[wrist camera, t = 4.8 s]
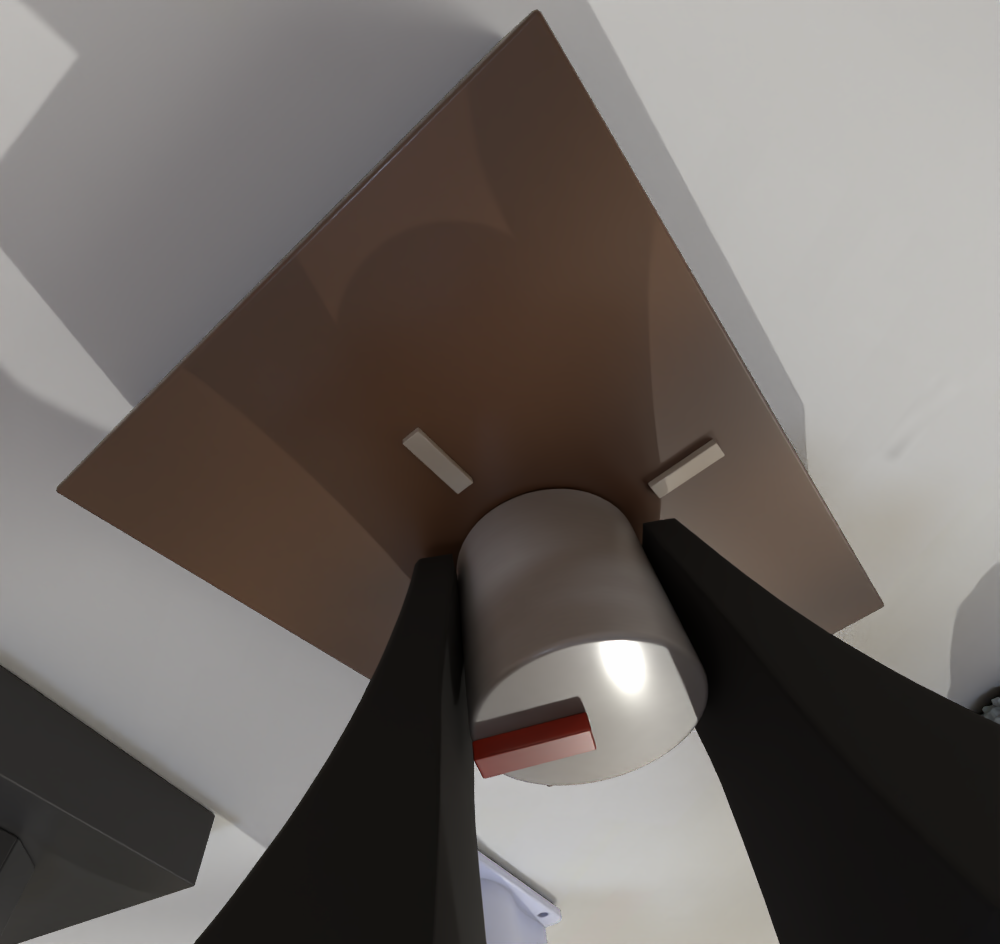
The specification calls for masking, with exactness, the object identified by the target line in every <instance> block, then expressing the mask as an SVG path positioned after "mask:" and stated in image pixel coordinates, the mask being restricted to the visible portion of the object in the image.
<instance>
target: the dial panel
mask: <svg viewBox="0 0 1000 944" xmlns="http://www.w3.org/2000/svg"><path fill="white" fill-rule="evenodd" d="M545 489H573V490H579V491H584V492H588V493H591V494H593V495H596V496H599V497H601V498H603V499H604V500H606V501H608V502H610V503H611V504H613V505H614V506H615V507H617V508H618V509H619V510H620V511H621V512H622V513H623V514H624V515H625V516H626V518H627V519H628V521H629V522H630V524H631V526H632V528H633V530H634V532H635V534H636V536H637V538H638V540H639V542H640V543H641V545H642V533H643V523H646V522H652V521H658V520H664V519H671V518H675V519H676V520H678V521H679V522H680V523H682V524H683V525H684V526H685V527H687V528H688V529H689V530H690V531H692V532H693V533H694V534H695V535H697V536H698V537H699V538H700V539H702V540H703V541H704V542H705V543H706V544H708V545H709V546H710V547H711V548H713V549H714V550H715V551H716V552H718V553H719V554H720V555H721V556H723V557H724V558H725V559H726V560H728V561H729V562H730V563H732V564H733V565H734V566H735V567H737V568H738V569H739V570H741V571H742V572H743V573H744V574H746V575H747V576H748V577H750V578H751V579H753V580H754V581H755V582H757V583H758V584H759V585H761V586H762V587H763V588H765V589H766V590H767V591H769V592H770V593H771V594H773V595H774V596H775V597H777V598H778V599H780V600H781V601H782V602H784V603H785V604H787V605H788V606H790V607H791V608H793V609H794V610H796V611H797V612H799V613H800V614H802V615H803V616H805V617H806V618H807V619H809V620H810V621H812V622H813V623H815V624H816V625H818V626H819V627H821V628H822V629H824V630H826V631H827V632H829V633H830V634H834V633H836V632H838V631H840V630H841V629H843V628H845V627H847V626H849V625H851V624H853V623H854V622H856V621H858V620H860V619H862V618H864V617H865V616H867V615H869V614H871V613H873V612H875V611H877V610H878V609H880V608H882V607H883V606H884V603H883V602H882V600H881V598H880V596H879V595H878V593H877V591H876V589H875V588H874V586H873V584H872V583H871V581H870V579H869V577H868V576H867V574H866V572H865V570H864V569H863V567H862V565H861V564H860V562H859V560H858V558H857V557H856V555H855V553H854V551H853V550H852V548H851V546H850V545H849V543H848V541H847V539H846V538H845V536H844V534H843V533H842V531H841V529H840V527H839V526H838V524H837V522H836V520H835V519H834V517H833V515H832V514H831V512H830V510H829V508H828V507H827V505H826V503H825V501H824V500H823V498H822V496H821V495H820V493H819V491H818V489H817V488H816V486H815V484H814V482H813V481H812V479H811V477H810V476H809V474H808V472H807V470H806V469H805V467H804V465H803V463H802V462H801V460H800V458H799V457H798V455H797V453H796V451H795V450H794V448H793V446H792V444H791V443H790V441H789V439H788V438H787V436H786V434H785V432H784V431H783V429H782V427H781V425H780V424H779V422H778V420H777V419H776V417H775V415H774V413H773V412H772V410H771V408H770V407H769V405H768V403H767V401H766V400H765V398H764V396H763V394H762V393H761V391H760V389H759V388H758V386H757V384H756V382H755V381H754V379H753V377H752V375H751V374H750V372H749V370H748V369H747V367H746V365H745V363H744V362H743V360H742V358H741V356H740V355H739V353H738V351H737V350H736V348H735V346H734V344H733V343H732V341H731V339H730V337H729V336H728V334H727V332H726V331H725V329H724V327H723V325H722V324H721V322H720V320H719V318H718V317H717V315H716V313H715V312H714V310H713V308H712V306H711V305H710V303H709V301H708V300H707V298H706V296H705V294H704V293H703V291H702V289H701V287H700V286H699V284H698V282H697V281H696V279H695V277H694V275H693V274H692V272H691V270H690V268H689V267H688V265H687V263H686V262H685V260H684V258H683V256H682V255H681V253H680V251H679V249H678V248H677V246H676V244H675V243H674V241H673V239H672V237H671V236H670V234H669V232H668V230H667V229H666V227H665V225H664V224H663V222H662V220H661V218H660V217H659V215H658V213H657V211H656V210H655V208H654V206H653V205H652V203H651V201H650V199H649V198H648V196H647V194H646V193H645V191H644V189H643V187H642V186H641V184H640V182H639V180H638V179H637V177H636V175H635V174H634V172H633V170H632V168H631V167H630V165H629V163H628V161H627V160H626V158H625V156H624V155H623V153H622V151H621V149H620V148H619V146H618V144H617V142H616V141H615V139H614V137H613V136H612V134H611V132H610V130H609V129H608V127H607V125H606V123H605V122H604V120H603V118H602V117H601V115H600V113H599V111H598V110H597V108H596V106H595V104H594V103H593V101H592V99H591V98H590V96H589V94H588V92H587V91H586V89H585V87H584V86H583V84H582V82H581V80H580V79H579V77H578V75H577V73H576V72H575V70H574V68H573V67H572V65H571V63H570V61H569V60H568V58H567V56H566V54H565V53H564V51H563V49H562V48H561V46H560V44H559V42H558V41H557V39H556V37H555V35H554V34H553V32H552V30H551V29H550V27H549V25H548V23H547V22H546V20H545V18H544V16H543V15H542V13H541V12H540V11H539V10H534V11H532V12H531V13H530V14H529V15H528V16H527V17H526V18H525V19H523V20H522V21H521V22H520V23H519V24H518V25H517V26H516V27H515V28H514V29H512V30H511V31H510V32H509V33H508V34H507V35H506V36H505V37H504V38H503V39H502V40H501V41H500V42H499V43H498V44H497V45H496V46H495V47H494V48H493V49H492V50H491V51H490V52H489V53H488V54H487V55H486V56H485V57H484V58H483V59H482V60H481V61H480V62H479V63H478V64H477V65H476V66H475V67H474V68H473V69H472V70H471V71H470V72H469V73H468V74H467V75H466V76H465V77H464V78H463V79H462V80H461V81H460V82H459V83H458V84H457V85H456V86H455V87H454V88H453V89H452V90H451V91H450V92H449V93H448V94H447V95H446V96H445V97H444V98H443V99H442V100H441V101H440V102H439V103H438V104H437V105H436V106H435V107H434V108H433V109H432V110H431V111H430V112H429V113H428V114H427V115H426V116H425V117H424V118H423V119H422V120H421V121H420V122H419V123H418V124H417V125H416V126H415V127H414V128H413V129H412V130H411V131H410V132H409V133H408V134H407V135H406V136H405V137H404V138H403V139H402V140H401V141H400V142H399V143H398V144H397V145H396V146H395V147H394V148H393V149H392V150H391V151H390V152H389V153H388V154H387V155H386V156H385V157H384V158H383V159H382V160H381V161H380V162H379V163H378V164H377V165H376V166H375V167H374V168H373V169H372V170H371V171H370V172H369V173H368V174H367V175H366V176H365V177H364V178H363V179H362V180H361V181H360V182H359V183H358V184H357V185H356V186H355V187H354V188H353V189H352V190H351V191H350V192H349V193H348V194H347V195H346V196H345V197H344V198H343V199H342V200H341V201H340V202H339V203H338V204H337V205H336V206H335V207H334V208H333V209H332V210H331V211H330V212H329V213H328V214H327V215H326V216H325V217H324V218H323V219H322V220H321V221H320V222H319V223H318V224H317V225H316V226H315V227H314V228H313V229H312V230H311V231H310V232H309V233H308V234H307V235H306V236H305V237H304V238H303V239H302V240H301V241H300V242H299V243H298V244H297V245H296V246H295V247H294V248H293V249H292V250H291V251H290V252H289V253H288V254H287V255H286V256H285V257H284V258H283V259H282V260H281V261H280V262H279V263H278V264H277V265H276V266H275V267H274V268H273V269H272V270H271V271H270V272H269V273H268V274H267V275H266V276H265V277H264V278H263V279H262V280H261V281H260V282H259V283H258V284H257V285H256V286H255V287H254V288H253V289H252V290H251V291H250V292H249V293H248V294H247V295H246V296H245V297H244V298H243V299H242V300H241V301H240V302H239V303H238V304H237V305H236V306H235V307H234V308H233V309H232V310H231V311H230V312H229V313H228V314H227V315H226V316H225V317H224V318H223V319H222V320H221V321H220V322H219V323H218V324H217V325H216V326H215V327H214V328H213V329H212V330H211V331H210V332H209V333H208V334H207V335H206V336H205V337H204V338H203V339H202V340H201V341H200V342H199V343H198V344H197V345H196V346H195V347H194V348H193V349H192V350H191V351H190V352H189V353H188V354H187V355H186V356H185V357H184V358H183V359H182V360H181V361H180V362H179V363H178V364H177V365H176V366H175V367H174V368H173V369H172V370H171V371H170V372H169V373H168V374H167V375H166V376H165V377H164V378H163V379H162V380H161V381H160V382H159V383H158V384H157V385H156V386H155V387H154V388H153V389H152V390H151V391H150V392H149V393H148V394H147V395H146V396H145V397H144V398H143V399H142V400H141V401H140V402H139V403H138V404H137V405H136V406H135V407H134V408H133V409H132V410H131V411H130V413H129V414H128V415H127V416H126V417H125V418H124V419H123V420H122V421H121V422H120V423H119V424H118V425H117V426H116V427H115V428H114V429H113V430H112V431H111V432H110V433H109V434H108V435H107V436H106V437H105V438H104V439H103V440H102V441H101V442H100V443H99V444H98V445H97V446H96V447H95V449H94V450H93V451H92V452H91V453H90V454H89V455H88V456H87V457H86V458H85V459H84V460H83V461H82V462H81V463H80V464H79V465H78V466H77V467H76V468H75V469H74V470H73V471H72V472H71V473H70V474H69V475H68V476H67V477H66V478H65V479H64V480H63V481H62V482H61V484H60V485H59V486H58V487H57V490H56V491H57V492H58V493H59V494H61V495H63V496H64V497H66V498H68V499H69V500H71V501H73V502H74V503H76V504H78V505H79V506H81V507H83V508H84V509H86V510H88V511H90V512H91V513H93V514H95V515H96V516H98V517H100V518H101V519H103V520H105V521H106V522H108V523H110V524H111V525H113V526H115V527H116V528H118V529H120V530H121V531H123V532H125V533H126V534H128V535H130V536H131V537H133V538H135V539H136V540H138V541H140V542H141V543H143V544H145V545H146V546H148V547H150V548H151V549H153V550H155V551H156V552H158V553H160V554H161V555H163V556H165V557H166V558H168V559H170V560H171V561H173V562H175V563H176V564H178V565H180V566H181V567H183V568H185V569H186V570H188V571H190V572H191V573H193V574H195V575H196V576H198V577H200V578H201V579H203V580H205V581H206V582H208V583H210V584H211V585H213V586H215V587H216V588H218V589H220V590H221V591H223V592H225V593H226V594H228V595H230V596H231V597H233V598H235V599H236V600H238V601H240V602H241V603H243V604H245V605H246V606H248V607H250V608H251V609H253V610H255V611H256V612H258V613H260V614H262V615H263V616H265V617H267V618H268V619H270V620H272V621H273V622H275V623H277V624H278V625H280V626H282V627H283V628H285V629H287V630H288V631H290V632H292V633H293V634H295V635H297V636H298V637H300V638H302V639H303V640H305V641H307V642H308V643H310V644H312V645H313V646H315V647H317V648H318V649H320V650H322V651H323V652H325V653H327V654H328V655H330V656H332V657H333V658H335V659H337V660H338V661H340V662H342V663H343V664H345V665H347V666H348V667H350V668H352V669H353V670H355V671H357V672H358V673H360V674H362V675H363V676H365V677H367V678H368V679H370V680H371V678H372V676H373V674H374V672H375V670H376V668H377V666H378V664H379V662H380V659H381V657H382V655H383V653H384V650H385V648H386V646H387V643H388V641H389V638H390V636H391V634H392V631H393V629H394V626H395V624H396V621H397V619H398V616H399V614H400V611H401V608H402V605H403V603H404V600H405V597H406V594H407V591H408V588H409V585H410V581H411V578H412V574H413V570H414V566H415V564H416V563H417V561H418V560H419V559H421V558H428V557H434V556H440V555H446V554H452V555H453V560H454V565H455V570H456V575H457V561H458V556H459V552H460V550H461V547H462V544H463V542H464V541H465V539H466V537H467V535H468V534H469V532H470V531H471V530H472V528H473V527H474V526H475V525H476V523H477V522H478V521H479V520H480V519H481V518H482V517H484V516H485V515H486V514H487V513H489V512H490V511H491V510H492V509H494V508H495V507H497V506H499V505H500V504H502V503H504V502H506V501H508V500H510V499H512V498H514V497H517V496H520V495H523V494H526V493H529V492H534V491H538V490H545ZM547 786H549V787H550V786H553V785H547Z"/></svg>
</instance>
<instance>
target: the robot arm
mask: <svg viewBox="0 0 1000 944" xmlns="http://www.w3.org/2000/svg"><path fill="white" fill-rule="evenodd" d="M642 547H643V549H644V551H645V553H646V555H647V557H648V559H649V561H650V563H651V565H652V567H653V569H654V571H655V573H656V575H657V577H658V579H659V581H660V583H661V585H662V587H663V589H664V591H665V593H666V594H667V596H668V598H669V600H670V602H671V604H672V606H673V608H674V610H675V612H676V614H677V616H678V618H679V620H680V622H681V624H682V626H683V628H684V630H685V632H686V634H687V636H688V638H689V640H690V642H691V644H692V645H693V647H694V649H695V651H696V653H697V655H698V657H699V659H700V661H701V663H702V665H703V667H704V670H705V672H706V674H707V680H708V700H707V704H706V708H705V710H704V712H703V715H702V717H701V718H700V720H699V722H698V723H697V725H696V726H695V729H696V731H697V733H698V735H699V737H700V739H701V741H702V743H703V745H704V747H705V749H706V751H707V753H708V755H709V757H710V759H711V762H712V764H713V766H714V768H715V771H716V773H717V775H718V777H719V780H720V782H721V784H722V787H723V789H724V792H725V795H726V797H727V800H728V803H729V805H730V808H731V810H732V813H733V816H734V818H735V821H736V824H737V826H738V829H739V831H740V834H741V837H742V839H743V842H744V845H745V848H746V850H747V853H748V856H749V859H750V861H751V864H752V867H753V870H754V872H755V875H756V878H757V881H758V883H759V886H760V889H761V892H762V894H763V897H764V900H765V903H766V905H767V908H768V911H769V914H770V917H771V920H772V923H773V926H774V929H775V932H776V934H777V937H778V940H779V943H780V944H1000V724H998V723H996V722H994V721H992V720H990V719H987V718H985V717H983V716H981V715H979V714H977V713H975V712H973V711H971V710H969V709H966V708H964V707H962V706H960V705H959V704H957V703H955V702H953V701H951V700H949V699H947V698H945V697H943V696H941V695H939V694H937V693H935V692H933V691H931V690H929V689H927V688H925V687H923V686H921V685H919V684H917V683H915V682H913V681H912V680H910V679H908V678H906V677H904V676H902V675H901V674H899V673H897V672H895V671H893V670H891V669H890V668H888V667H886V666H884V665H883V664H881V663H879V662H877V661H876V660H874V659H872V658H871V657H869V656H867V655H865V654H864V653H862V652H860V651H859V650H857V649H855V648H853V647H852V646H850V645H848V644H847V643H845V642H843V641H842V640H840V639H838V638H837V637H835V636H834V635H832V634H830V633H829V632H827V631H826V630H824V629H822V628H821V627H819V626H818V625H816V624H815V623H813V622H812V621H810V620H809V619H807V618H806V617H805V616H803V615H802V614H800V613H799V612H797V611H796V610H794V609H793V608H791V607H790V606H788V605H787V604H785V603H784V602H782V601H781V600H780V599H778V598H777V597H775V596H774V595H773V594H771V593H770V592H769V591H767V590H766V589H765V588H763V587H762V586H761V585H759V584H758V583H757V582H755V581H754V580H753V579H751V578H750V577H748V576H747V575H746V574H744V573H743V572H742V571H741V570H739V569H738V568H737V567H735V566H734V565H733V564H732V563H730V562H729V561H728V560H726V559H725V558H724V557H723V556H721V555H720V554H719V553H718V552H716V551H715V550H714V549H713V548H711V547H710V546H709V545H708V544H706V543H705V542H704V541H703V540H702V539H700V538H699V537H698V536H697V535H695V534H694V533H693V532H692V531H690V530H689V529H688V528H687V527H685V526H684V525H683V524H682V523H680V522H679V521H678V520H676V519H675V518H671V519H664V520H658V521H652V522H646V523H643V533H642ZM472 743H473V742H472V740H471V737H470V731H469V721H468V709H467V696H466V683H465V670H464V658H463V645H462V632H461V615H460V602H459V589H458V580H457V575H456V570H455V565H454V560H453V555H452V554H446V555H440V556H434V557H428V558H421V559H419V560H418V561H417V563H416V564H415V566H414V570H413V574H412V578H411V581H410V585H409V588H408V591H407V594H406V597H405V600H404V603H403V605H402V608H401V611H400V614H399V616H398V619H397V621H396V624H395V626H394V629H393V631H392V634H391V636H390V638H389V641H388V643H387V646H386V648H385V650H384V653H383V655H382V657H381V659H380V662H379V664H378V666H377V668H376V670H375V672H374V674H373V676H372V678H371V680H370V682H369V684H368V686H367V688H366V690H365V693H364V695H363V697H362V699H361V701H360V703H359V704H358V706H357V708H356V710H355V712H354V714H353V716H352V718H351V719H350V721H349V723H348V725H347V727H346V728H345V730H344V732H343V734H342V735H341V737H340V739H339V741H338V742H337V744H336V746H335V747H334V749H333V751H332V753H331V754H330V756H329V758H328V759H327V761H326V762H325V764H324V766H323V767H322V769H321V770H320V772H319V773H318V775H317V777H316V778H315V780H314V781H313V783H312V784H311V786H310V788H309V789H308V791H307V792H306V794H305V795H304V797H303V798H302V800H301V802H300V803H299V805H298V806H297V807H296V809H295V810H294V812H293V813H292V815H291V816H290V818H289V819H288V821H287V822H286V824H285V825H284V826H283V828H282V829H281V831H280V832H279V833H278V835H277V836H276V838H275V839H274V840H273V842H272V843H271V844H270V846H269V847H268V848H267V850H266V851H265V852H264V854H263V855H262V857H261V858H260V859H259V861H258V862H257V863H256V865H255V866H254V867H253V869H252V870H251V871H250V873H249V874H248V875H247V877H246V878H245V880H244V881H243V882H242V884H241V885H240V886H239V888H238V889H237V890H236V892H235V893H234V894H233V896H232V897H231V898H230V900H229V901H228V902H227V903H226V905H225V906H224V907H223V908H222V910H221V911H220V912H219V914H218V915H217V916H216V917H215V919H214V920H213V921H212V922H211V923H210V925H209V926H208V927H207V928H206V929H205V931H204V932H203V933H202V934H201V936H200V937H199V938H198V939H197V940H196V942H195V943H194V944H548V943H547V936H546V930H545V928H546V927H548V926H551V925H554V924H556V923H559V922H560V921H561V919H562V916H561V910H560V909H559V908H558V907H556V906H555V905H553V904H552V903H551V902H549V901H548V900H546V899H545V898H544V897H542V896H541V895H539V894H538V893H537V892H535V891H534V890H532V889H531V888H530V887H528V886H527V885H525V884H524V883H523V882H521V881H520V880H519V879H517V878H516V877H514V876H513V875H512V874H510V873H509V872H507V871H506V870H505V869H503V868H502V867H500V866H499V865H498V864H496V863H495V862H493V861H492V860H491V859H489V858H488V857H486V856H485V855H484V854H482V853H481V852H480V851H478V849H477V838H476V827H475V805H474V759H473V749H472Z"/></svg>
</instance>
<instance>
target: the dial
mask: <svg viewBox="0 0 1000 944" xmlns="http://www.w3.org/2000/svg"><path fill="white" fill-rule="evenodd" d="M457 580H458V589H459V602H460V615H461V632H462V645H463V658H464V670H465V683H466V696H467V709H468V721H469V731H470V737H471V740H472V742H473V743H472V749H473V759H474V761H475V763H476V765H477V767H478V769H479V771H480V773H481V775H482V777H483V778H489V777H493V776H497V775H501V774H504V775H506V776H509V777H511V778H514V779H517V780H521V781H525V782H529V783H535V784H542V785H577V784H585V783H592V782H597V781H602V780H606V779H610V778H613V777H617V776H620V775H623V774H626V773H629V772H631V771H634V770H636V769H639V768H641V767H643V766H645V765H647V764H649V763H651V762H653V761H655V760H656V759H658V758H660V757H661V756H663V755H664V754H666V753H667V752H669V751H670V750H672V749H673V748H674V747H675V746H677V745H678V744H679V743H680V742H681V741H682V740H684V739H685V738H686V737H687V736H688V735H689V733H690V732H691V731H692V730H693V729H694V727H695V726H696V725H697V723H698V722H699V720H700V718H701V717H702V715H703V712H704V710H705V708H706V704H707V700H708V680H707V674H706V672H705V670H704V667H703V665H702V663H701V661H700V659H699V657H698V655H697V653H696V651H695V649H694V647H693V645H692V644H691V642H690V640H689V638H688V636H687V634H686V632H685V630H684V628H683V626H682V624H681V622H680V620H679V618H678V616H677V614H676V612H675V610H674V608H673V606H672V604H671V602H670V600H669V598H668V596H667V594H666V593H665V591H664V589H663V587H662V585H661V583H660V581H659V579H658V577H657V575H656V573H655V571H654V569H653V567H652V565H651V563H650V561H649V559H648V557H647V555H646V553H645V551H644V549H643V547H642V545H641V543H640V542H639V540H638V538H637V536H636V534H635V532H634V530H633V528H632V526H631V524H630V522H629V521H628V519H627V518H626V516H625V515H624V514H623V513H622V512H621V511H620V510H619V509H618V508H617V507H615V506H614V505H613V504H611V503H610V502H608V501H606V500H604V499H603V498H601V497H599V496H596V495H593V494H591V493H588V492H584V491H579V490H573V489H545V490H538V491H534V492H529V493H526V494H523V495H520V496H517V497H514V498H512V499H510V500H508V501H506V502H504V503H502V504H500V505H499V506H497V507H495V508H494V509H492V510H491V511H490V512H489V513H487V514H486V515H485V516H484V517H482V518H481V519H480V520H479V521H478V522H477V523H476V525H475V526H474V527H473V528H472V530H471V531H470V532H469V534H468V535H467V537H466V539H465V541H464V542H463V544H462V547H461V550H460V552H459V556H458V561H457Z"/></svg>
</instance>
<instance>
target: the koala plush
mask: <svg viewBox="0 0 1000 944" xmlns="http://www.w3.org/2000/svg"><path fill="white" fill-rule="evenodd" d="M991 701H992V703H993V704H992V705H991V706H984V707H983V709H982V710H983V712H984V713H985V714H981V716H983V717H985V718H987V719H990V720H992V721H994V722H996V723H998V724H1000V697H996V698H994V699H992V700H991Z"/></svg>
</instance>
